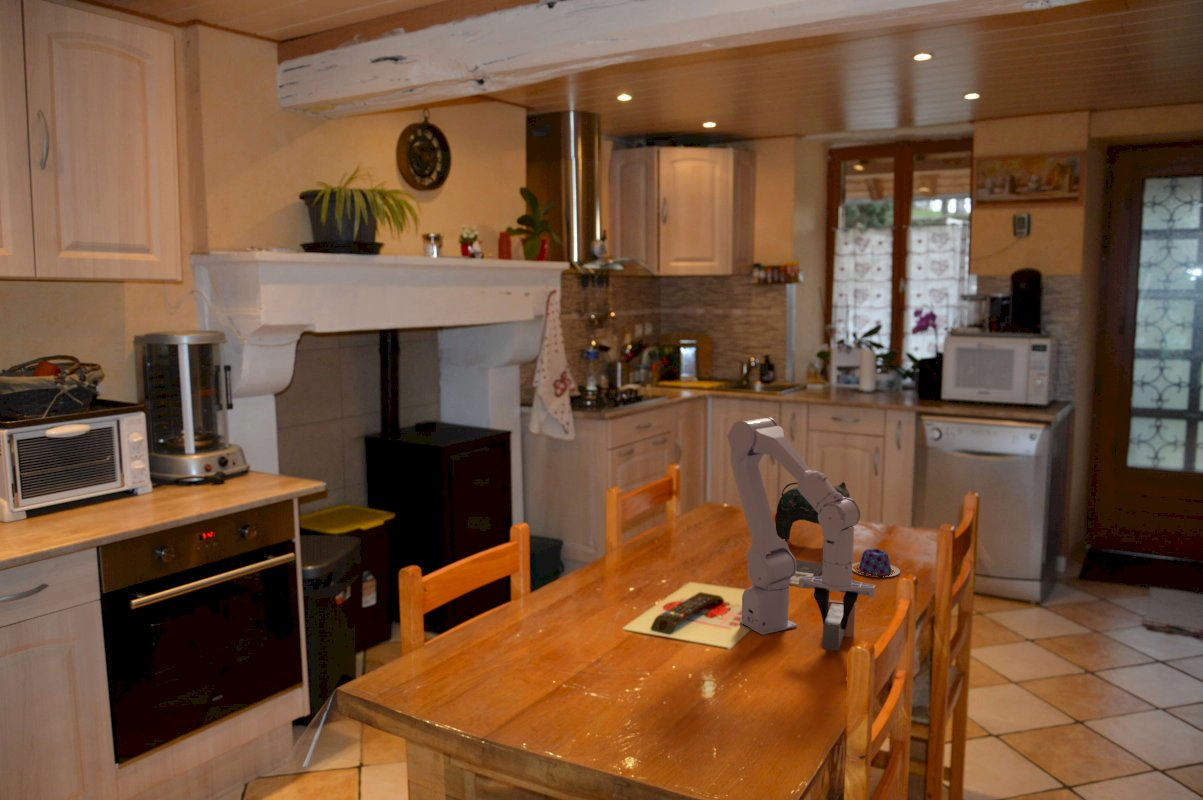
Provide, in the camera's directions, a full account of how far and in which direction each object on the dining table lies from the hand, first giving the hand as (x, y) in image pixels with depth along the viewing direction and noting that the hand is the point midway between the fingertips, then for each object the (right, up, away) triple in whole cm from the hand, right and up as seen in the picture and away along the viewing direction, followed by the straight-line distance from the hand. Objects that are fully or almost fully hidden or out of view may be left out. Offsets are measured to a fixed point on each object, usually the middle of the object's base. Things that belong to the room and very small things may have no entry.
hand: (835, 626), depth 182 cm
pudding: (+22, +2, +48) cm, 53 cm away
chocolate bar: (+3, +1, +45) cm, 45 cm away
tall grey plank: (0, -2, 0) cm, 3 cm away
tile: (+3, -4, +7) cm, 8 cm away
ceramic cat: (+11, +5, +71) cm, 72 cm away
